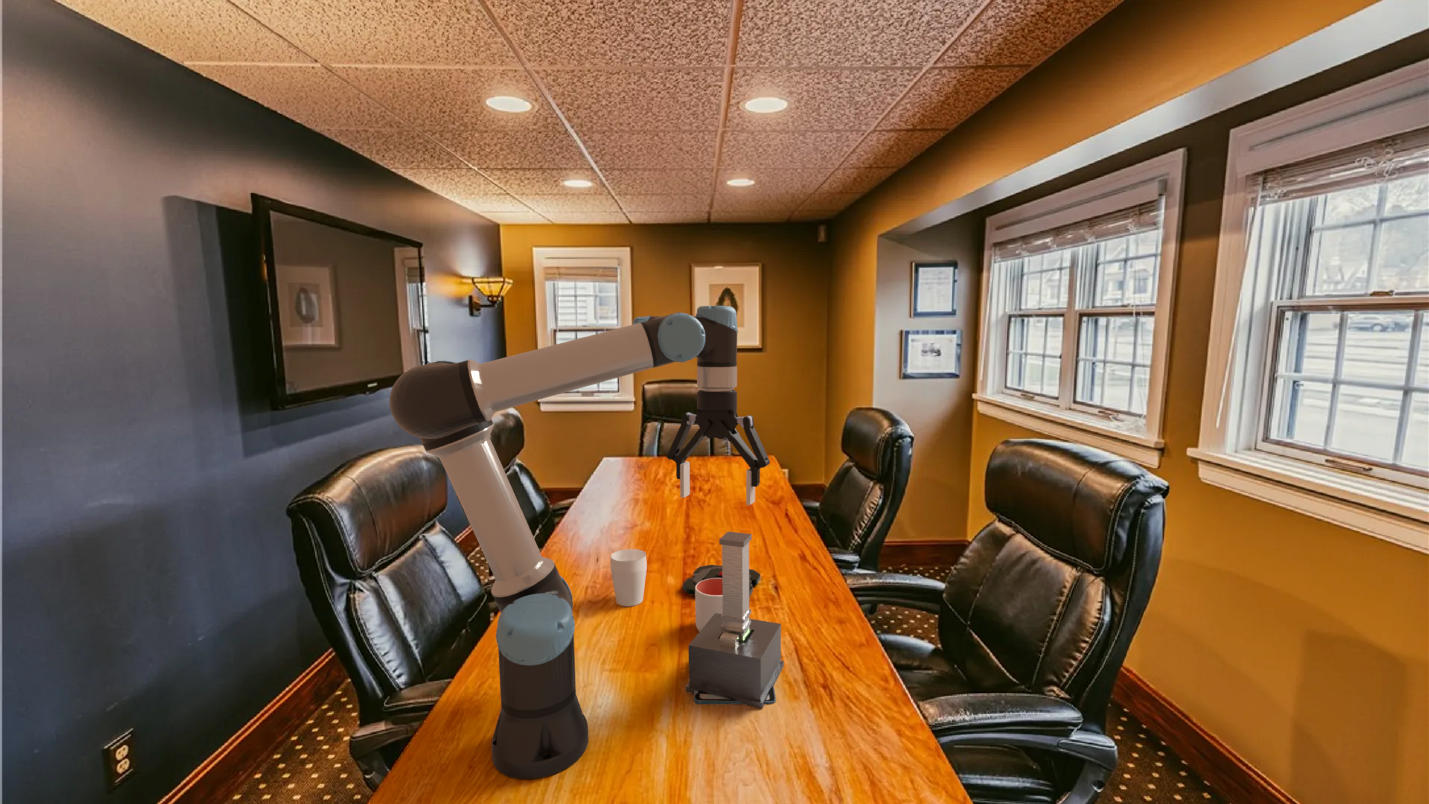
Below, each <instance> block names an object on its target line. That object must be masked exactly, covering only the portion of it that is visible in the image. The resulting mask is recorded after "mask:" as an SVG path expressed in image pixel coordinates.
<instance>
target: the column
mask: <svg viewBox="0 0 1429 804" xmlns="http://www.w3.org/2000/svg"><path fill="white" fill-rule="evenodd" d="M751 540H752V533H746V532H745V533H744V532H737V531H736V532H735V531H726V532H725V533H724V534H723V535H722V536H721V537H720V538H719V539H718V541H719V542H718V543H719V544H718V545H720V546H721V563H722V565H721V566H722V590H723V614H722V615H721V620H723V624H722V625H721V630H723V633H730V634H736V635H739V642H740V643H745V644H746V642H747V641H748V639H749V635H750V634H751V629H749V625H750V624H751V619H752V618H750V615H751V614H752V609H751V608H750V597H749V569H750V542H751Z"/></svg>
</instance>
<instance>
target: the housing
mask: <svg viewBox="0 0 1429 804" xmlns="http://www.w3.org/2000/svg"><path fill="white" fill-rule="evenodd" d="M721 615H722V614H718V613H715V614H714V615H713V616H712V618H711V619H710V620H709V621H708V622H707V624H706V625H705V626H704V627H703V628H702V630H701V631H698V633H697V634H696V636H695V637H694V638H693V639H692V640H691V641H690V643H689V644H688V645H687V646H688V683H687V684H686V685H685V692H686V693H688V694H689V693H690V694H694V690H695V691H699V692H703V693H707V694H711V695H715V696H719V697H724V698H728V699H732V700H736V701H740V702H741V704H740V705H744V706H748V707H749V706H750V707H754V708H758V709H764V707H765V705H766V704H765V701H766V699H767V697H768V695H769V693H770V691H771V689H772V687H773V685H774V686H775V684H776V683H777V680H778V678H779V676H780V675H781V672H782V671H783V669H784V666H785V661H784V660H782V653H781V652H782V648H781V647H782V628H781V627H782V624H781V623H779V622H773V621H767V620H766V621H765V620H759V619H754V618H750V619H751V624H750V625H749V629H751V634H750V635H749V639H748V641H747V642H746V644H745V643H740V642H739V635H736V634H730V633H723V630H721V625H722V624H723V620H721Z"/></svg>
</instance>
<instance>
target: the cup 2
mask: <svg viewBox="0 0 1429 804" xmlns="http://www.w3.org/2000/svg"><path fill="white" fill-rule="evenodd" d="M694 596H695V597H694V598H695V607H694V609H695V627H696V629H697V631H698V632H700V631H701V630H702V628H703V627H704V626H705V625H706V624H707V622H708V621H709V620H710V619H711V618H712V616H713V615H714V614H715V613H718V614H723V590H722V578H711V579H706V580H703V581H701V582H699V583H698V584H697V585H696V586H695V595H694Z"/></svg>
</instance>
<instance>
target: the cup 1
mask: <svg viewBox="0 0 1429 804" xmlns="http://www.w3.org/2000/svg"><path fill="white" fill-rule="evenodd" d="M647 567H648V564H647V555H646V552H645V551H644V550H642V549H637V548H625V549H621V550H617V551H614V552H613V553H611V555H610V572H611V573H610V574H611V578H612V579H611V580H612V583H613V584H612V586H613V590H614V595H615V601H616V604H617V605H620V606H621V607H634V606H635V607H636V606H637V605H640V604H641V603H642V602H643V600H644V593H645V585H646V577H647Z"/></svg>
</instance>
